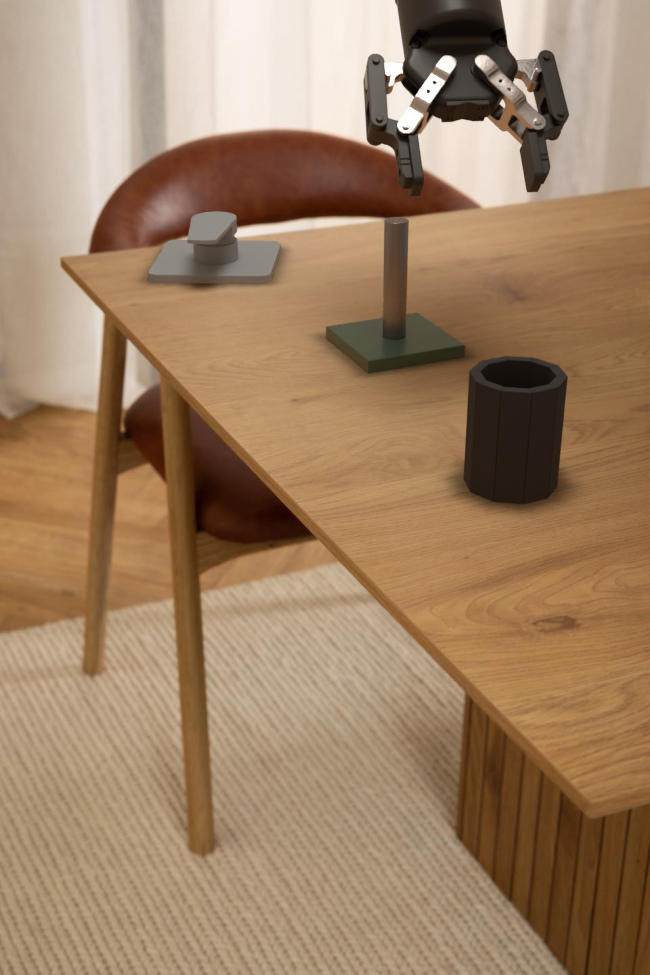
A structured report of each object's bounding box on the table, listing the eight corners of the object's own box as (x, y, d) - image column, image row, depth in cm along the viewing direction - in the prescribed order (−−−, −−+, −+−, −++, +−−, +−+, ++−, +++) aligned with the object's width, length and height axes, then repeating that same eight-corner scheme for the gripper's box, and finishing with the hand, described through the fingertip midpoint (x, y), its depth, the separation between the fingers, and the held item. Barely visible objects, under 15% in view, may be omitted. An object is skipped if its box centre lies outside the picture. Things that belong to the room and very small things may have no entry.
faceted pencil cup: (539, 460, 83) (548, 353, 79) (567, 502, 77) (579, 389, 74) (455, 466, 82) (461, 358, 78) (478, 508, 77) (485, 395, 73)
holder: (416, 324, 107) (420, 201, 102) (464, 358, 100) (471, 227, 95) (325, 339, 104) (324, 213, 99) (368, 374, 97) (369, 240, 92)
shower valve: (137, 237, 114) (165, 198, 127) (141, 291, 116) (169, 248, 129) (265, 238, 113) (281, 199, 126) (267, 293, 115) (282, 249, 129)
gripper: (358, -40, 83) (384, 162, 78) (554, -43, 85) (591, 155, 80) (346, 31, 90) (369, 220, 85) (527, 27, 92) (560, 212, 87)
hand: (477, 188), depth 83 cm, fingers open, 8 cm apart
